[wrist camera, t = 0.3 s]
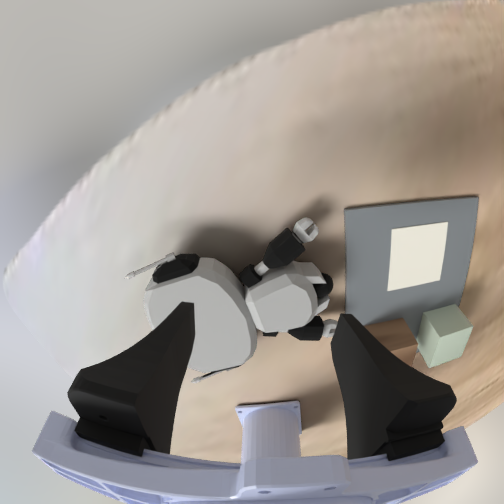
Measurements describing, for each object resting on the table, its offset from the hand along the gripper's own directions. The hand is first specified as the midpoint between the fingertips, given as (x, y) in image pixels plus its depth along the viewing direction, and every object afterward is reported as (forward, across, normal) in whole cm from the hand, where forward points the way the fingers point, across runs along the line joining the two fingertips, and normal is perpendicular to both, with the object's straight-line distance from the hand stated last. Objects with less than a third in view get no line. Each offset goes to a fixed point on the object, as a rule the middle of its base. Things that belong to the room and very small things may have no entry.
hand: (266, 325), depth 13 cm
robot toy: (+10, +1, +5) cm, 11 cm away
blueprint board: (+10, -15, +3) cm, 18 cm away
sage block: (+9, -20, +7) cm, 23 cm away
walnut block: (+9, -13, +9) cm, 18 cm away
